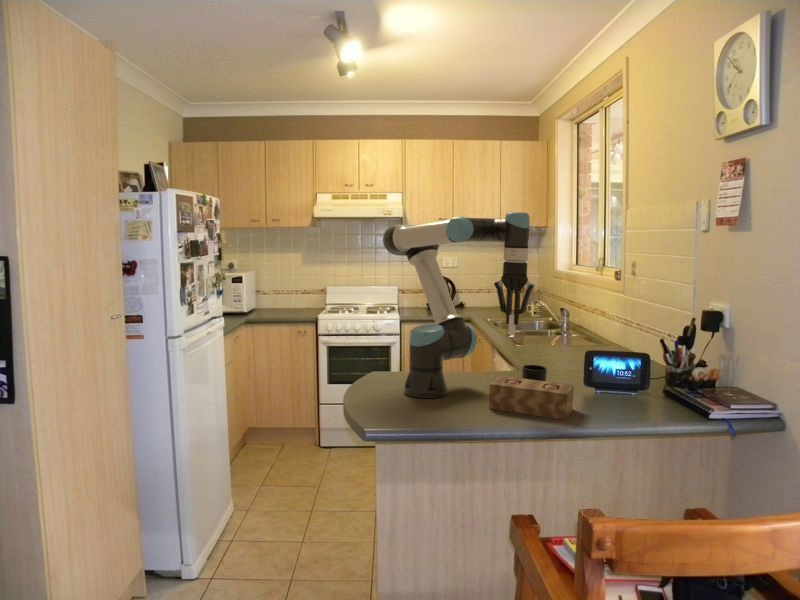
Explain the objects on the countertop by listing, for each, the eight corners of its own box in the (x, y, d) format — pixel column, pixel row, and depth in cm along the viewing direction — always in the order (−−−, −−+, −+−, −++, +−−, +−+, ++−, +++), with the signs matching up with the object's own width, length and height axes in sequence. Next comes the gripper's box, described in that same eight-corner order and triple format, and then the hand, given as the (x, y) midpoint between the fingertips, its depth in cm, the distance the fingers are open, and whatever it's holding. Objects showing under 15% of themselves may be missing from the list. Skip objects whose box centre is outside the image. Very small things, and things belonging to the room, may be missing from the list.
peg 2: (542, 410, 176) (544, 387, 175) (545, 407, 179) (546, 384, 178) (554, 412, 174) (555, 388, 173) (556, 409, 178) (557, 386, 177)
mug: (536, 387, 204) (537, 362, 203) (549, 397, 193) (550, 370, 192) (514, 388, 203) (515, 362, 202) (526, 397, 192) (527, 370, 190)
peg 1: (505, 405, 181) (506, 382, 180) (508, 402, 184) (509, 379, 183) (516, 406, 179) (517, 383, 179) (519, 403, 183) (520, 381, 182)
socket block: (489, 408, 179) (489, 384, 178) (499, 398, 190) (500, 375, 189) (566, 420, 169) (567, 394, 168) (572, 409, 180) (573, 384, 179)
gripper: (492, 260, 178) (488, 334, 181) (533, 263, 172) (528, 338, 175) (499, 259, 184) (495, 330, 188) (538, 261, 179) (534, 334, 182)
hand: (511, 334), depth 181 cm, fingers closed
